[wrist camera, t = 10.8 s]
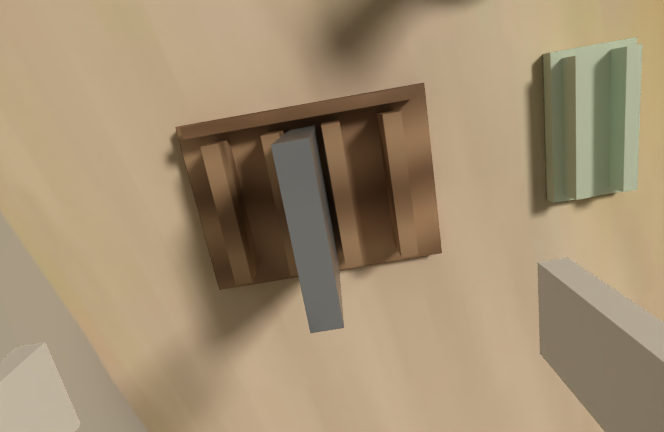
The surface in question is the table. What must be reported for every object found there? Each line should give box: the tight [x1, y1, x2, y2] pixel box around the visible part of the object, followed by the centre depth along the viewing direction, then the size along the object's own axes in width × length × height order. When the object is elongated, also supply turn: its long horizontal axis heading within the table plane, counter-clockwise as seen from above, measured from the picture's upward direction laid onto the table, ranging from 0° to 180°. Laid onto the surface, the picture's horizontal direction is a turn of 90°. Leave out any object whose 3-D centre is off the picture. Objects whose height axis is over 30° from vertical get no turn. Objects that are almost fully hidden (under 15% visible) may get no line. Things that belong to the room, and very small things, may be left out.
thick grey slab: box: [271, 125, 344, 333], centre depth 25 cm, size 10×2×11 cm, turn 10°
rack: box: [176, 83, 442, 290], centre depth 30 cm, size 13×18×4 cm
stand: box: [543, 37, 642, 203], centre depth 29 cm, size 11×6×3 cm, turn 10°
